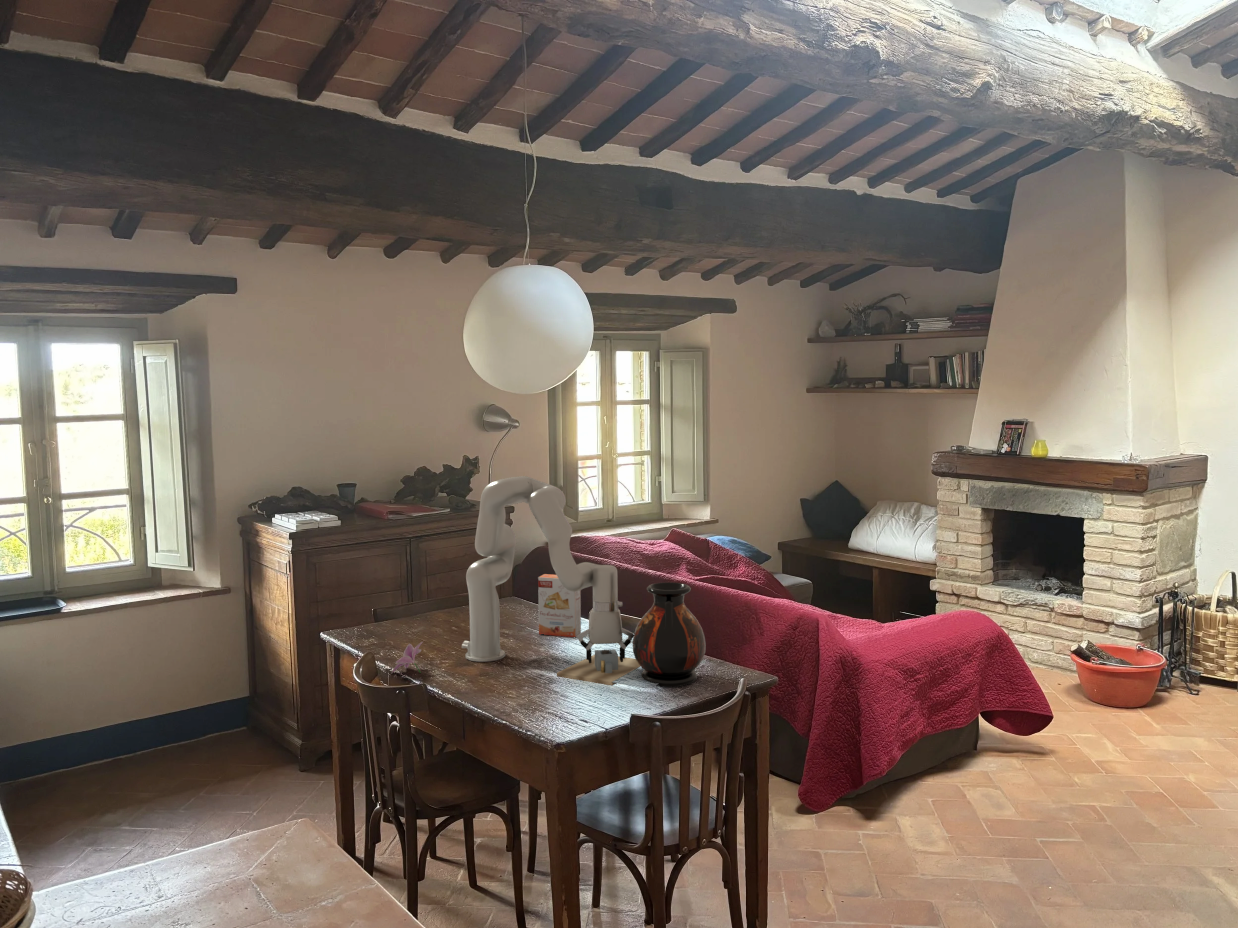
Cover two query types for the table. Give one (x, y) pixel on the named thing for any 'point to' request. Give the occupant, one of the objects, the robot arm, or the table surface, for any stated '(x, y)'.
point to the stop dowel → (602, 666)
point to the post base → (590, 673)
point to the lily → (408, 657)
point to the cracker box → (558, 608)
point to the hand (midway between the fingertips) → (605, 661)
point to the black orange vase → (669, 638)
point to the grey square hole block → (606, 660)
